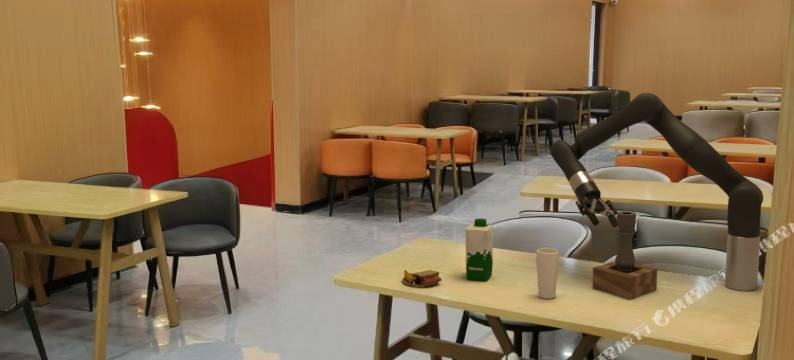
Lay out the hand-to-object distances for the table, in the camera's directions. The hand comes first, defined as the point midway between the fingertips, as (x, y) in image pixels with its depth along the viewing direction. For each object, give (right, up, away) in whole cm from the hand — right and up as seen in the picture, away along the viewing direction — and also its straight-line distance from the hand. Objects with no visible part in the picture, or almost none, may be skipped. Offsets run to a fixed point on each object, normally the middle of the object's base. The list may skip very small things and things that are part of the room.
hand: (606, 225), depth 223 cm
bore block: (+5, -21, -1) cm, 21 cm away
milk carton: (-39, -19, +15) cm, 46 cm away
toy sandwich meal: (-59, -21, +12) cm, 64 cm away
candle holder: (+5, -21, -1) cm, 21 cm away
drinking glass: (-20, -22, -6) cm, 31 cm away
